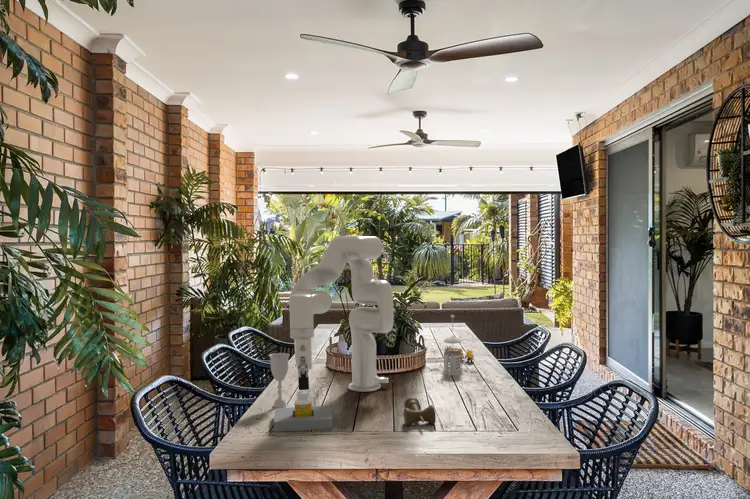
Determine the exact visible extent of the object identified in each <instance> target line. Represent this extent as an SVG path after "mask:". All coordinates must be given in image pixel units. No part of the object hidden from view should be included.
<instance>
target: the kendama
mask: <svg viewBox="0 0 750 499" xmlns="http://www.w3.org/2000/svg"><path fill="white" fill-rule="evenodd" d="M403 405H404V409H403V420H404V421H403V422H404V424H405V426H406V427H409V426H411V425H412V424H415V423H417V422H421V423H429V424H430V425H433V426H434V425H435V424H436V421H437V420H436V417H437V416H436V409H435V407H434V405H433V404H430V405H429V406H427V407H426V408H424V409H422V406H421V404H420V401H419V399H417V398H415V397H409V398H407V399H406V400H405V402H404V404H403Z"/></svg>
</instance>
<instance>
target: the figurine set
mask: <svg viewBox="0 0 750 499" xmlns="http://www.w3.org/2000/svg"><path fill="white" fill-rule="evenodd" d="M450 346H451V345H449V346H448V348H449V347H450ZM448 348H447V347H446V349H448ZM452 348H453V346H451V349H452ZM455 348H456V349H460V350H461V351H460V353H462V358H460V359H462V361H461V362H465V360H466V363H471V364H475V362H474V361H475V355H474V354H473V351H472V349H466V353H463V349H462V347H457V346H456V347H455ZM444 351H445V350H444ZM445 352H446V351H445ZM448 358H450V357H448ZM463 359H465V360H463Z"/></svg>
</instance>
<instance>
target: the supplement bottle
mask: <svg viewBox="0 0 750 499" xmlns="http://www.w3.org/2000/svg"><path fill="white" fill-rule="evenodd" d="M312 404H313V403H312V399H311V398H310V392H309V390H298V391H297V392H296V399H295V400H294V407H295V417H307V416H312V407H313V406H312Z"/></svg>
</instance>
